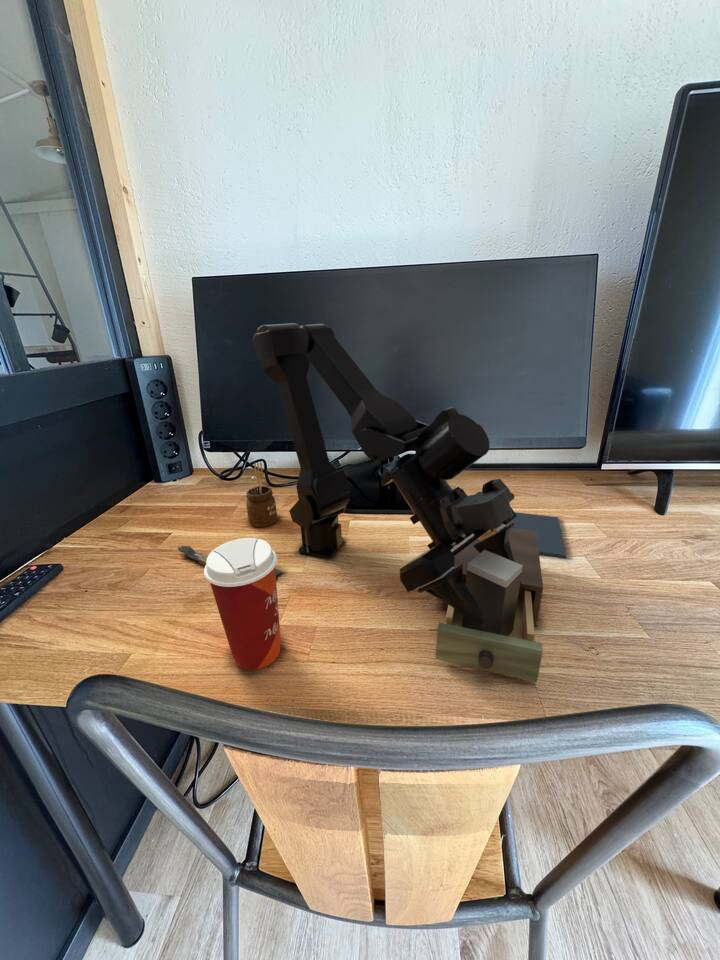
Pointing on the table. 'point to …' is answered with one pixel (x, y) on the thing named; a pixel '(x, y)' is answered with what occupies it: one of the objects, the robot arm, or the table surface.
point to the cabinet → (524, 554)
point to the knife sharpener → (493, 592)
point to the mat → (543, 532)
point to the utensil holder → (260, 503)
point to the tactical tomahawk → (201, 558)
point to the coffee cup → (247, 599)
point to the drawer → (493, 644)
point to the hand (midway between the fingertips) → (501, 603)
